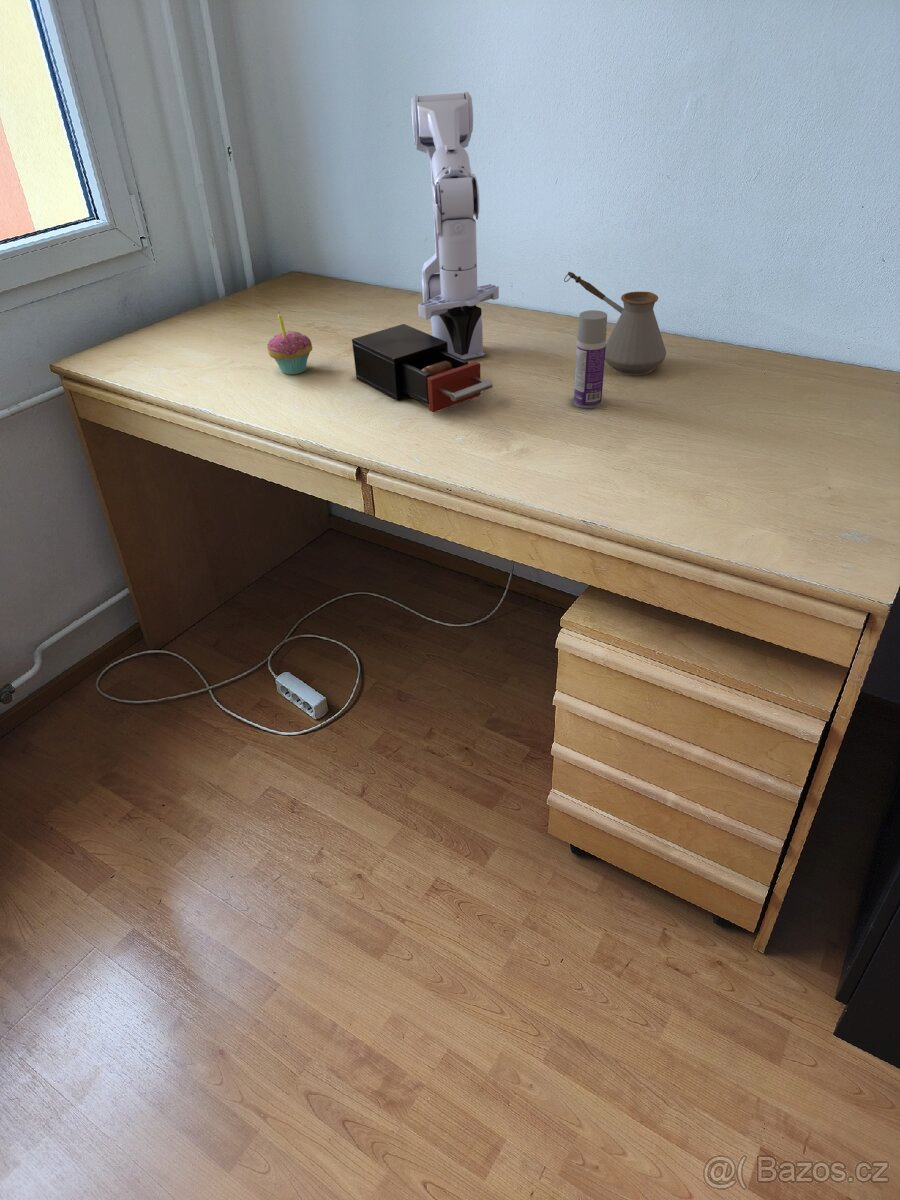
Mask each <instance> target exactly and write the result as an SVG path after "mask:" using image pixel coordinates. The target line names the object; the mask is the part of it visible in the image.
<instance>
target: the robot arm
mask: <svg viewBox="0 0 900 1200" xmlns="http://www.w3.org/2000/svg"><path fill="white" fill-rule="evenodd" d="M410 106H411V107H410V110H411V111H410V113H411V124H412V127H411V128H412V136H413V144H414V146H415V150H417V151H419V152H422V153H425V154H426V157H427V160H428V163H429V166H430V182H431V183H430V184H431V201H432V216H433V219H432V220H433V234H434V252H435V253H434V254H433V255H432V256H431V257H430V258H428V259H427V261H425V262H424V264H423V265H422V268H421V287H422V288H421V289H422V290H421V291H422V303H418V304H417V305H418V307H417V308H418V309H417V310H418V318H420V319H422V320H426V321H427V320H430V323H431V325H430V326H431V335H432V336H434V337H436V338H439V339H441V340H443V341H446V342H447V344H448V346H447V347H448V353H450V354H452V355H454V356H457V357H459V358H461V359H463V360H466V361H467V360H470V359H475V358H476V359H477V358H480V357H484V356H485V352H484V342H483V340H484V336H483V318H482V313H483V311H482V308H481V307H479V306H477V305H479V304H480V303H482V302H485V301H488V300H493V301H494V300H498V299H500V287H499V285H495V284H493V283H489V284H485V285H478V251H477V247H478V246H477V221H478V220H479V216H480V188H479V184H478V180H477V176H476V175H475V173H472V168H471V163H470V157H469V153H468V152H467V150H466V149H465V148H467V147H469V143H470V141H471V139H472V133H473V131H474V110H473V109H474V108H473V98H472V95H471V94H470V93H469V92H468V91H464V92H460V93H441V94H427V95H426V94H425V95H418V94H413V96H412V98H410ZM474 216H475V218H474Z"/></svg>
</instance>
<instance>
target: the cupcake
mask: <svg viewBox="0 0 900 1200" xmlns="http://www.w3.org/2000/svg"><path fill="white" fill-rule="evenodd" d="M277 313H278V314H277V317H278V322H279V325H280V330H281V332H280V333H278V334H276V335H274V336H273V337H272V338H270V340H269V341H268V343H267V353H268V355H269V357H270V358H272V359H274V360H275V362H276V364H277V365H278V367H279V370H280V372H281V373H283V374H285V375H298V374H301V373H304V372H305V371H306V369H307V364H308V359H309V356H310V353H312V351H313V343H312V341H311V339H310V338H309V337H308V336H307V335H305V334H303V333H300V332H298V331H294V330H293V331H291V330H287V331H286V328H285V324H284V321H283V320H284V319H283V315H282V314H281V313H280V311H279V310H278V311H277Z"/></svg>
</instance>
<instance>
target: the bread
mask: <svg viewBox="0 0 900 1200" xmlns="http://www.w3.org/2000/svg"><path fill="white" fill-rule="evenodd" d="M452 369H454V368H453V367H452V365H451V363H450V362H448V361H442V362H439V363H436V364H433V365H430V366H427V367H425V368H423V369H422V370H421V371H424V372H426V373H428V374H429V375H430V377H431V376H434V375H437V374H440V373H443V372H446V371H449V370H452Z"/></svg>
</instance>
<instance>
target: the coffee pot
mask: <svg viewBox="0 0 900 1200" xmlns="http://www.w3.org/2000/svg"><path fill="white" fill-rule="evenodd" d="M567 277H569V278H568V279H567ZM566 279H567V280H566ZM571 279H573V280H574V281H575V283H577V284H580V286H581V287H583V288H584V289H585V290H586V291H587V292H589V293H590V294H591V295H594V296H595V297H597V298H598V299H600V300H602V301H604V302H605V303H606V304H607V305H609V306H610V307H612V308H613V309H614V310H615V311H616V312H618V313H620V316H619V318H618V319H617V322H616V323H615V326H614V327H613V329H612V331H611V334H610V335H609V337H608V339H607V340H606V350H605V362H606V364H607V365H608V366H609V367H610V368H611V369H612V370H613V371H614V372H615V373H618V374H620V375H626V376H642V375H648V374H650V373H652V372H653V371H654V369H656V368H658V367H659V366H660V365H661V364H662V363H663V362H664V361H665V359H666V356H667V350H666V347H665V343H664V340H663V337H662V333H661V330H660V327H659V323H658V320H657V318H656V317H657V316H656V313H655V311H654V307H655V304H656V303H657V302H658V300H659V296H658V295H657V294H655V293H654V292H652V291H631V292H626V293H624V294H622V295H621V296H620V300H621V301H622V302H623V307H622V306H621V305H619V304H618V303H616V302H614V300H612V299H610V298H609V297H608V296H606V295H605V294H604V293H603V292H602V291H600V290H599V289H598V288H596V287H595V286H594V285H593V284H592V283H590V282H588V281H586V280H584V279H582V277H581V276H580V275H579V276H577V275H576V273H574V272H573V271H568V272H567V274H566V275H565V276H564V278H563V282H564V283H567V282H569V281H570V280H571Z"/></svg>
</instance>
